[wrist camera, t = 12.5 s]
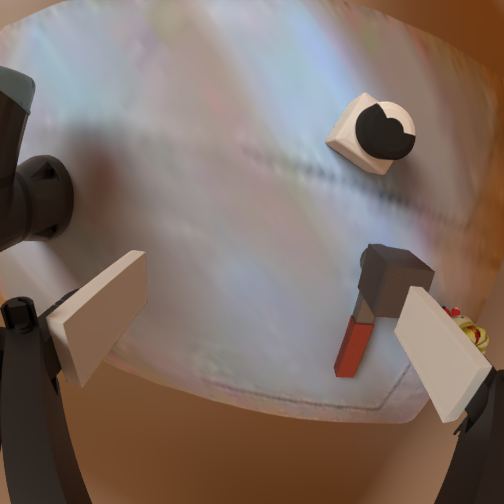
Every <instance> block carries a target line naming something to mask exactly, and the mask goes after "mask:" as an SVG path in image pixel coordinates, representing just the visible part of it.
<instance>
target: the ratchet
mask: <svg viewBox="0 0 504 504" xmlns="http://www.w3.org/2000/svg"><path fill="white" fill-rule="evenodd" d="M374 245H380V246H385V245H382V244H374ZM367 249H368V248H366V249H365V251H364V252H363V253H362V256H361V259H360V266H361V269H363V265H364V261H365V257H366V253H367ZM374 317H375V316H374V315H373V313H372V311H371V310H370V308H369V306H368V304H367V303H366V301H365V299H364V297H363V296H362V294H361V292H360V291H359V295H358V298H357V301H356V305H355V308H354V311H353V315H351V317H350V321H349V324H348V327H347V330H346V333H345V336H344V339H343V342H342V345H341V348H340V351H339V354H338V356H337V359H336V362H335V365H334V370H335V375H336V377H354V374H355V372H356V370H357V367H358V365H359V363H360V360H361V358H362V355H363V353H364V350H365V348H366V345H367V342H368V340H369V337H370V334H371V332H372V329H373V326H374V325H373V320H374Z"/></svg>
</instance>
